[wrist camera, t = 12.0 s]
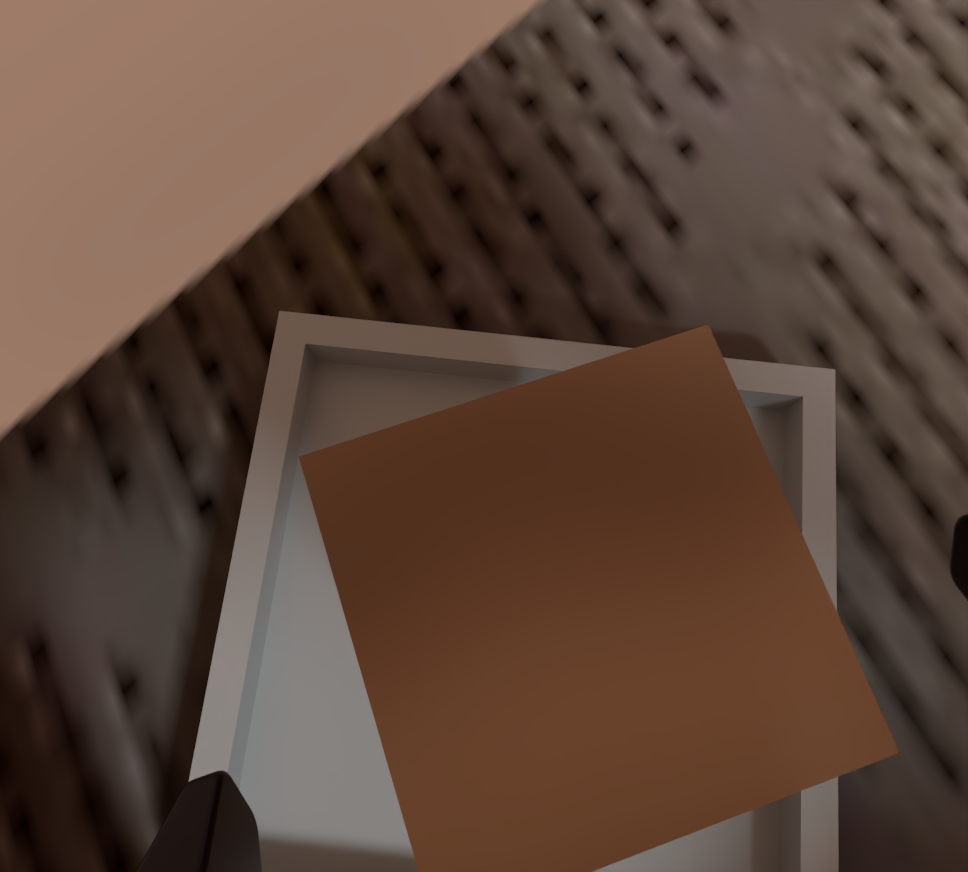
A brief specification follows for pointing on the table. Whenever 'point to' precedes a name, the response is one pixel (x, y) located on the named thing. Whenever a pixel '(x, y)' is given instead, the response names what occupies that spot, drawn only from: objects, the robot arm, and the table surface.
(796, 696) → the walnut block
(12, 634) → the table surface
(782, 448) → the tray
